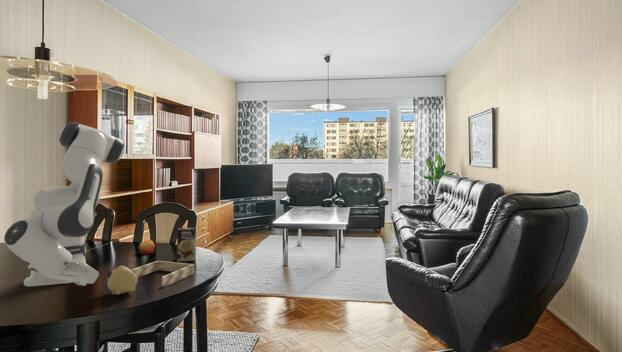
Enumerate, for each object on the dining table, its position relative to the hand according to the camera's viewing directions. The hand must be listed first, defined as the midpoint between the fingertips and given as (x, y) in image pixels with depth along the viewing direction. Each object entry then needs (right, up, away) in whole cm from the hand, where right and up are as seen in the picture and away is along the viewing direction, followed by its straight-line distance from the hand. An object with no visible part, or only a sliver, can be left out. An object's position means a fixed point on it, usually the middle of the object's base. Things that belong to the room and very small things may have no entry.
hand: (83, 283), depth 122 cm
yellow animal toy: (+5, -8, +15) cm, 18 cm away
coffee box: (+12, -7, +65) cm, 67 cm away
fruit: (-14, -7, +79) cm, 80 cm away
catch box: (+11, -8, +35) cm, 38 cm away
